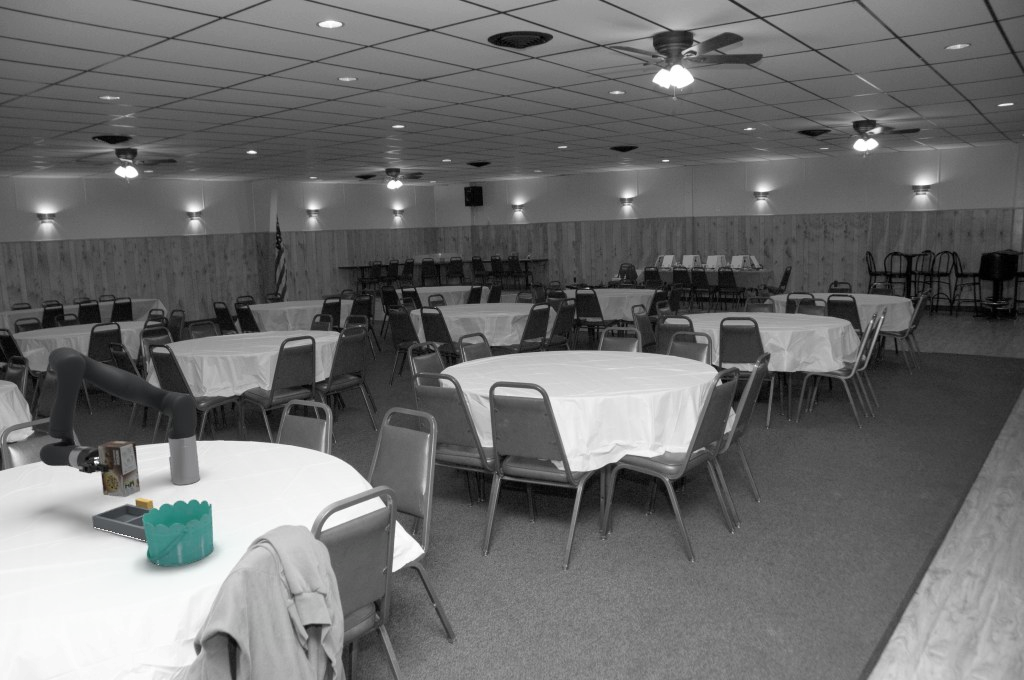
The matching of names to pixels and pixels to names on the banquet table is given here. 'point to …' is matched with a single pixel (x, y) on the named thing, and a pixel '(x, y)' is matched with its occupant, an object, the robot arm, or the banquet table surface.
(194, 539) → the basket
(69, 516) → the banquet table surface
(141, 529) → the grey divided tray
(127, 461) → the coffee box
